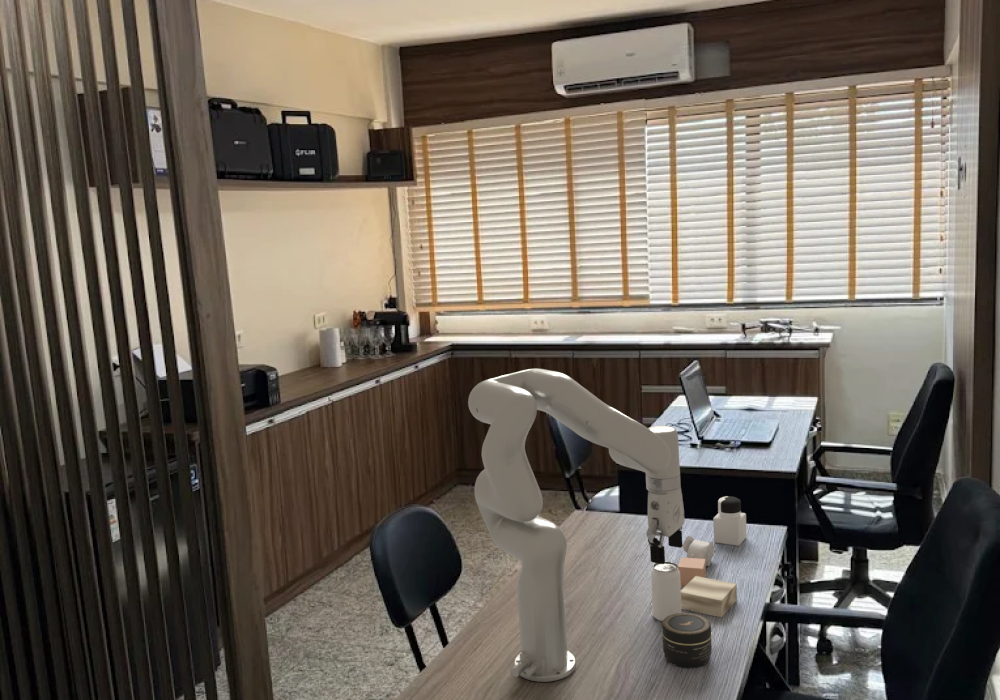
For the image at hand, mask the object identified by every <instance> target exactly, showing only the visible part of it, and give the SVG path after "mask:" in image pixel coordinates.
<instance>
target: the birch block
mask: <svg viewBox="0 0 1000 700" xmlns="http://www.w3.org/2000/svg"><path fill="white" fill-rule="evenodd" d="M737 587H738V586H737V583H735V582H734V583H733V582H729V581H725V580H718V579H715V578H708V577H706V578H704V577H699V576H695V577H694V578H693V579H692V580H691V581H690V582H689V583H688V584H687V585H686V586H683V588H681V610H686V611H691V612H696V613H700V614H705V615H707V616H708V615H709V616H714V617H718V618H723V617H724V616H725V614H726V613H727V612H728V611H729V610H730V608H731V607H732V606H734V603H736V601H738V592H737Z"/></svg>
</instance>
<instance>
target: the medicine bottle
mask: <svg viewBox="0 0 1000 700" xmlns="http://www.w3.org/2000/svg"><path fill="white" fill-rule="evenodd" d="M741 504H742V501H741V499H740V498H737V497H736V496H729V495H728V496H727V495H726V496H722V497H720V498H719V499H718V500H717V509H718V510H717V512H718V513H717V514H716V515H715V516H713V518H712V521H713V524H712V525H713V543H718V544H722V545H723V544H724V545H729V546H730V545H731V546H737V547H739V546H740V545H741V544H742V543H743V542H744V540H746V538H747V513H745V512H742V505H741Z"/></svg>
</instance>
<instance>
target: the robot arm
mask: <svg viewBox="0 0 1000 700" xmlns="http://www.w3.org/2000/svg"><path fill="white" fill-rule="evenodd" d="M467 400H468V401H467V404H468V405H467V406H468V409H469V411H470V413H471V415H472V416H473V417H474V418H475V419H476V420H478V421H479V422H481V423H484V424H488V425H490V426H489V427H488V430H487V433H486V435H485V439H484V441H483V443H482V447H481V459H482V464H483V467H484V469H483V470H481V471H480V473H479V474H478V476H477V477H476V480H475V483H474V498H475V502H476V504H477V506H478V509H479V512H480V515H481V517H482V518H483V521H484V524H485V526H486V528H487V529H488V532H489V535H490V537H491V539H492V541H493V542H494V543H495V545H496V546H497V547H498V549H500V550H501V551H503V552H504V553H506V554H508V555H509V556H511V557H514V558H516V559H517V560H519V561H520V562H521V569H520V573H519V575H518V577H517V583H516V589H517V590H516V592H517V593H516V594H517V605H518V620H519V622H518V624H519V639H520V652H519V654H517V656H516V657H515V659H514V663H513V664H514V665H513V667H512V668H510V674H511V676H512V677H514V678H518V677H519V676H520V677H522V678H523V679H526V680H529V681H534V682H539V683H540V682H541V683H545V682H546V683H547V682H548V683H550V682H556V681H558V680H562V679H564V678H566V677H568V676H570V675H571V674H572V673H573V672H574V670H575V669H576V658H575V656H574V654H573V653H571V652H570V651H569V650H568V641H567V640H568V637H567V621H566V620H567V618H566V599H565V585H564V583H565V579H564V578H565V577H564V576H565V573H564V571H565V561H566V554H567V539H566V538H567V537H566V536H565V534H564V531H563V530H562V528H560V527H559V526H558V525H557V524H556V523H554V522H553V521H550V519H547V518H544V517H542V516H539V515H540V514H541V512H542V510H543V504H544V502H543V494H542V491H541V489H540V487H539V484H538V481H537V478H536V477H535V474H534V472H533V469H532V467H531V464H530V462H529V459H528V456H527V453H526V447H525V446H526V441H527V436H528V434H529V431H530V430H531V428H532V426H533V424H534V422H535V419H536V417H537V411H541V412H544V413H547V414H548V415H550V416H551V417H552V418H554V419H555V420H557V421H558V422H560V423H562V424H563V425H564V426H566V427H567V428H569V430H571V431H572V432H574V433H575V434H576V435H578V436H579V437H582V439H584V440H586V441H589V442H591V443H593V444H596V445H598V446H601V447H604V448H607V449H608V454H609V457H610V458H611V459H612V461H613V462H615V463H616V464H618V465H620V466H622V467H626V468H629V469H632V470H633V469H634V470H636V471H641V472H642V473H645V484H646V485H645V486H646V487H645V489H646V490H647V491H648V492H647V525H648V527H647V528H648V529H647V530H646V533H645V535H646V538H647V542H648V546H649V552H650V562H651V563H653V564H655V563H659V564H664V563H665V561H666V554H665V546H663V545H664V542H665V541H664V540H665V537H666V538H668V539H667V540H668V541H667V542H668V546H669V547H672V548H673V547H674V548H679V549H681V548H683V547H682V546H683V525H684V524H685V509H684V501H683V493H682V487H681V464H680V449H679V447H680V445H679V433H678V431H677V429H676V428H674V427H673V426H668V425H655V426H651V427H647V426H646V425H644V424H643V423H640V422H639V421H637V420H635V419H633V418H631V417H630V416H627V415H626V414H624V413H622V412H621V411H619V410H618V409H616V408H614V407H612V406H610V405H608V404H606V403H605V402H604V401H602V400H601V399H599V398H598V397H597V396H596V395H594V394H593V393H592V392H590V391H589V390H588V389H586V388H585V387H583V386H582V385H581V384H580V383H579V382H577V381H576V380H575V379H573V378H572V377H570V376H569V375H567V374H565V373H563V372H559V371H556V370H550V369H549V370H548V369H544V368H528V369H523V370H519V371H516V372H511V373H508V374H504V375H500V376H495V377H493V378H489V379H485V380H483V381H480V382H479V383H477V384H476V385H475V386H474V387H473V388H472V390H471V391H470V393H469V395H468V399H467ZM657 537H659V539H658V538H657Z"/></svg>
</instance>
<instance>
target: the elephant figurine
mask: <svg viewBox="0 0 1000 700" xmlns="http://www.w3.org/2000/svg"><path fill="white" fill-rule="evenodd" d="M682 545H683V546H682V547H681V548H682V549H683V551H684V552H685V553H686V558H697V559H706V567H709V566H711V563H712V558H713V557H714V555H715V554H714V553H717V551H716V550H715V548H714V541H710V542H707V541H703V540H699V539H694V537H692V536H691V535H687V536H686V538H685V540H684V541H683V543H682Z"/></svg>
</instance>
